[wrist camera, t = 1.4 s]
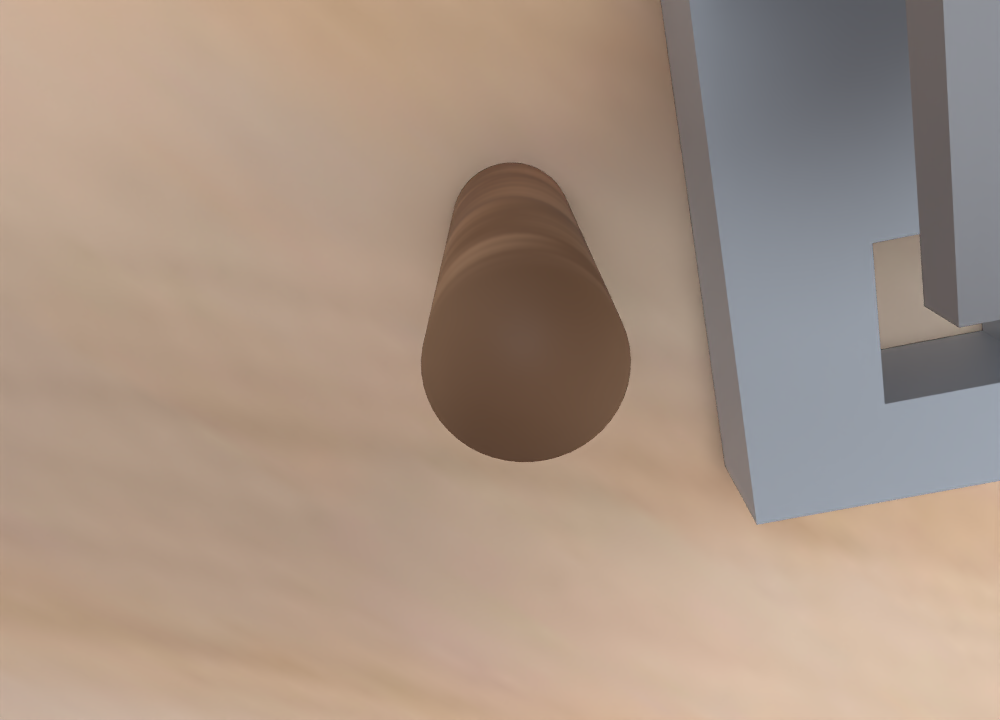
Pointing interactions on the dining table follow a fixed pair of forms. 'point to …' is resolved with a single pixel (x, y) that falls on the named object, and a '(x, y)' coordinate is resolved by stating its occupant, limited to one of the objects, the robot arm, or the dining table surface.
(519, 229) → the peg
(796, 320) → the socket station
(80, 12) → the dining table surface
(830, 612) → the dining table surface
